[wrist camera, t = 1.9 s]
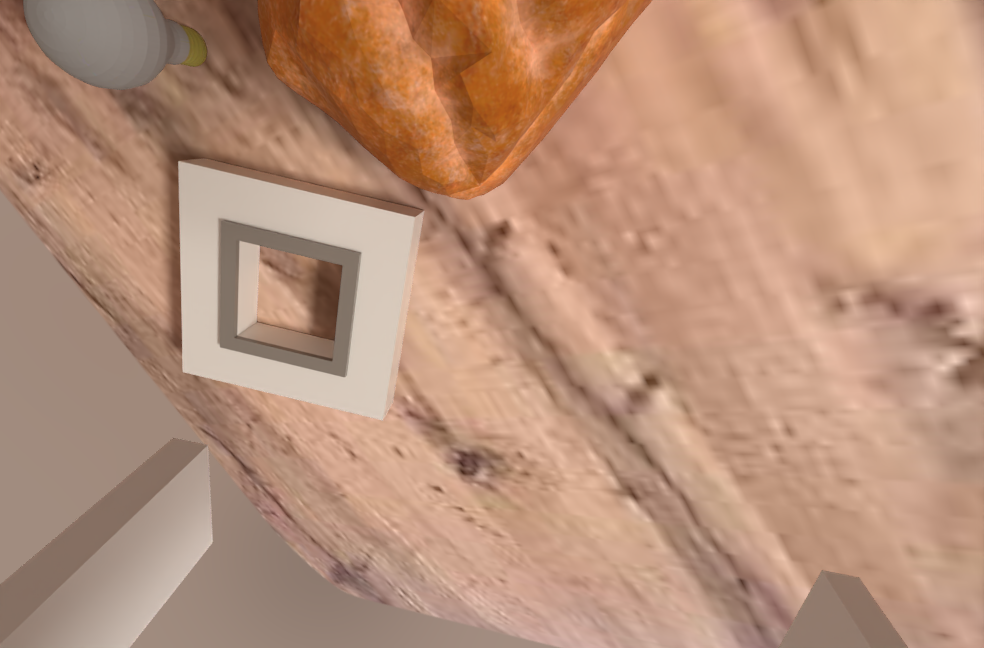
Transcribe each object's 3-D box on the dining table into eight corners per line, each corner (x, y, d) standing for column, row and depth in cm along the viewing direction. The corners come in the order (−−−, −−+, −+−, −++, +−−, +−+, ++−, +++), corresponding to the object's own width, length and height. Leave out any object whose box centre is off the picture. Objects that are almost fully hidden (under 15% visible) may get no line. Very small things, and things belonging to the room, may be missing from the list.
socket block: (204, 158, 34) (173, 161, 31) (424, 210, 34) (413, 218, 31) (204, 356, 39) (179, 374, 37) (393, 402, 39) (381, 423, 36)
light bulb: (198, -25, 30) (41, -91, 21) (257, 64, 31) (135, 40, 22) (135, 30, 31) (-37, -9, 22) (194, 113, 33) (55, 109, 23)
